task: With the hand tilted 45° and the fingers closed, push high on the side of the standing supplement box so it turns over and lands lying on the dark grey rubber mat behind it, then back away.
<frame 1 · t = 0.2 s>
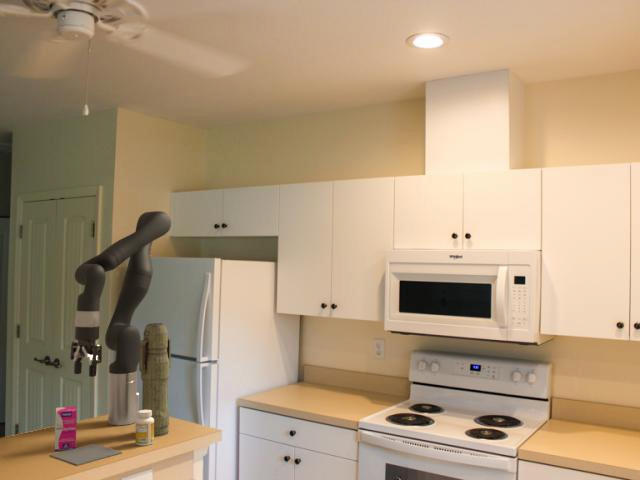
hand: (84, 375, 203), 18 cm above the counter, tool pointing down, fingers open, 8 cm apart
thermos: (154, 433, 200), on the counter
rubber mat: (86, 454, 177), on the counter
supplement box: (65, 448, 184), on the counter
supplement bottle: (144, 444, 188), on the counter
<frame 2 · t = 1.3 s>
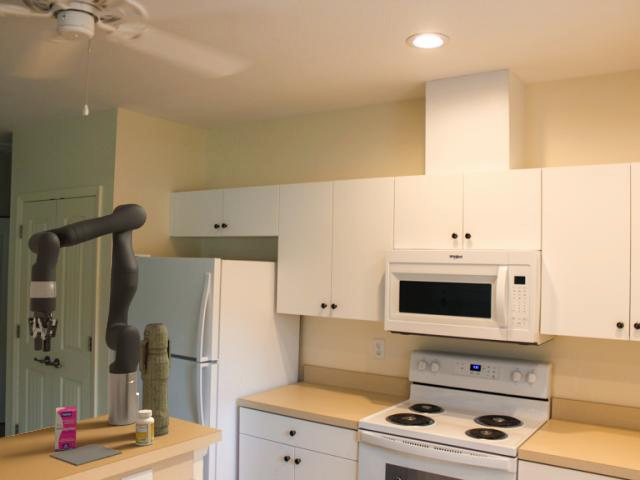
hand: (42, 350, 194), 27 cm above the counter, tool pointing down, fingers open, 4 cm apart
nothing on the counter moved.
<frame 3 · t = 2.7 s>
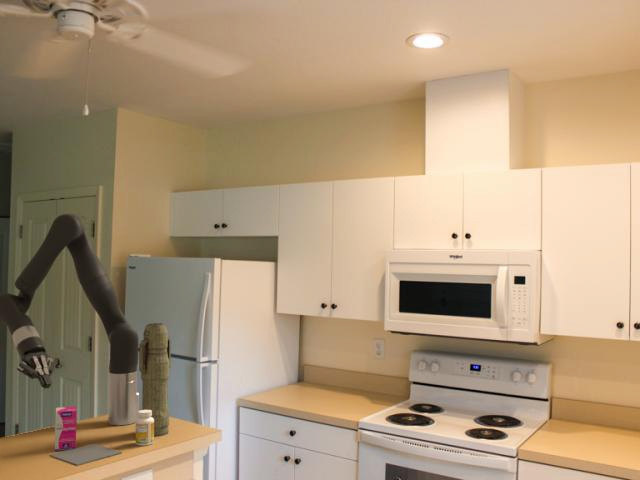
hand: (47, 386, 191), 17 cm above the counter, tool tilted 45°, fingers closed
nothing on the counter moved.
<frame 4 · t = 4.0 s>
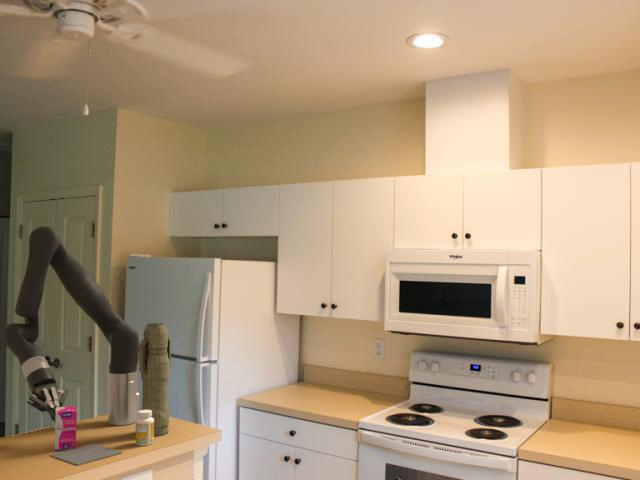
hand: (58, 420, 186), 8 cm above the counter, tool tilted 45°, fingers closed
supplement box: (65, 448, 184), on the counter, touching gripper
everything else where it was.
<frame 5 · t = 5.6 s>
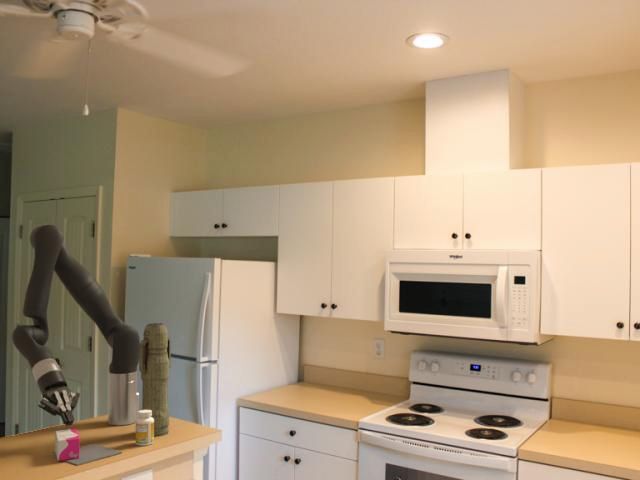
hand: (70, 423, 183), 7 cm above the counter, tool tilted 45°, fingers closed
supplement box: (65, 439, 182), point 3 cm above the counter, touching rubber mat
everything else where it was.
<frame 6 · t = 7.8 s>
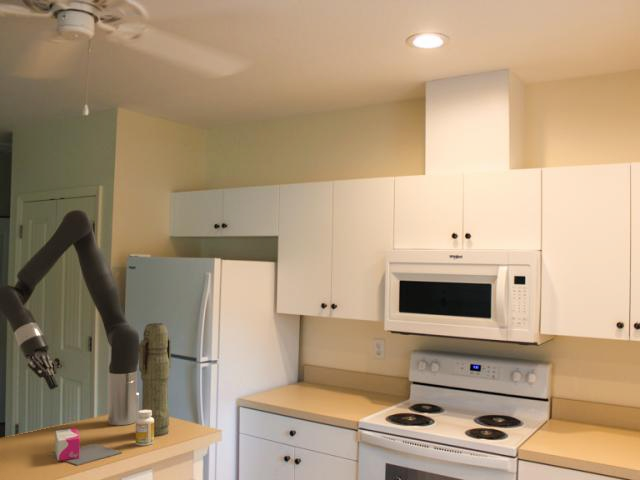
hand: (54, 387, 194), 16 cm above the counter, tool tilted 35°, fingers closed
nothing on the counter moved.
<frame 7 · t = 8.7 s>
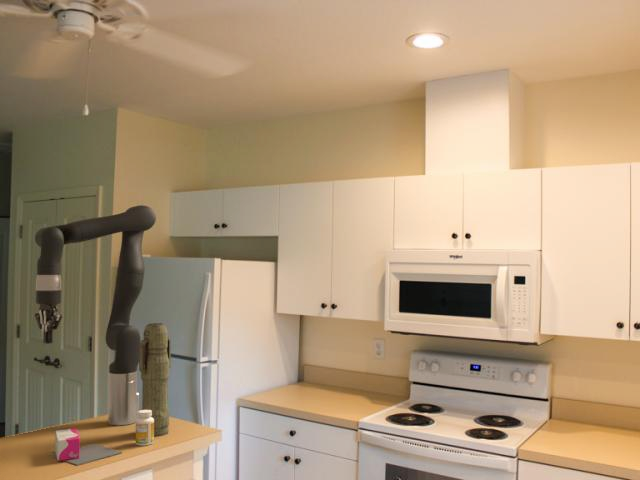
hand: (47, 343, 199), 29 cm above the counter, tool pointing down, fingers closed
nothing on the counter moved.
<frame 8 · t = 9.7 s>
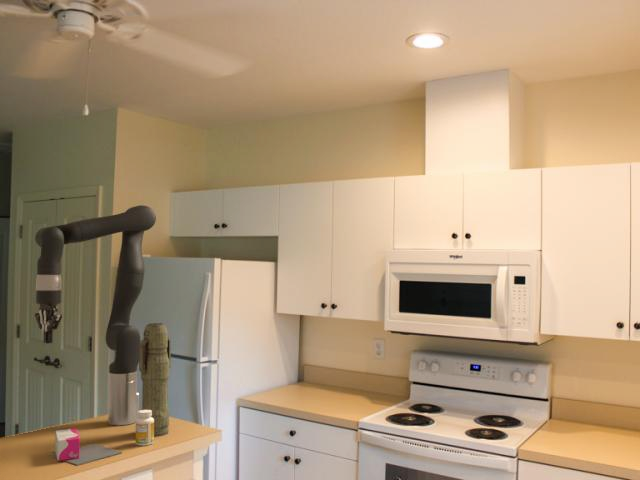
hand: (47, 343, 199), 29 cm above the counter, tool pointing down, fingers closed
nothing on the counter moved.
at the end: supplement box tilted 89°; supplement box inside the target area (7.0 cm from its centre), point 3.0 cm above the counter; the gripper is holding nothing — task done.
